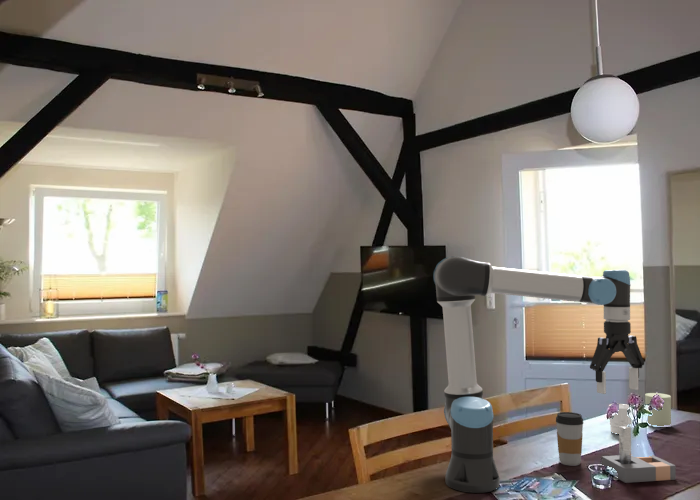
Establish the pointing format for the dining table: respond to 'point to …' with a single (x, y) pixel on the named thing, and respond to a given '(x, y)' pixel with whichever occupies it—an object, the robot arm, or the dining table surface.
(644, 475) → the mount block
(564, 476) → the dining table surface
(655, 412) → the can
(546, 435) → the dining table surface
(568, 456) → the coffee cup
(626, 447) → the pin
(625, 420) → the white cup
